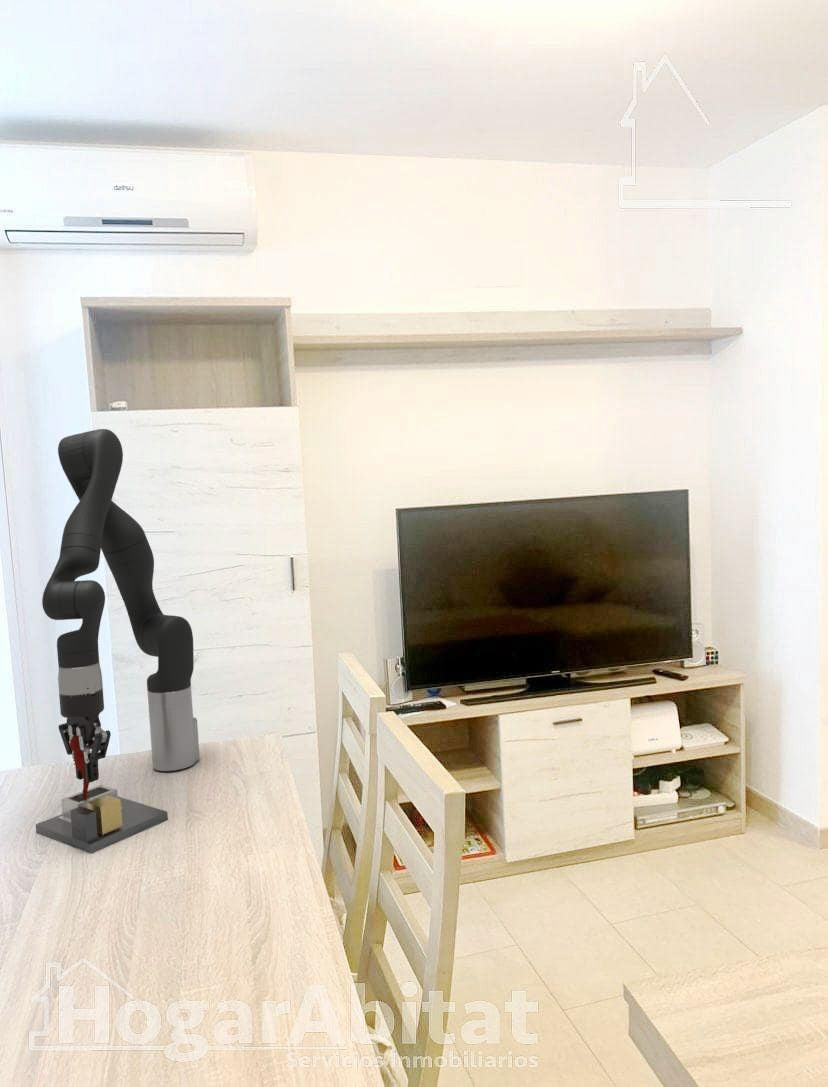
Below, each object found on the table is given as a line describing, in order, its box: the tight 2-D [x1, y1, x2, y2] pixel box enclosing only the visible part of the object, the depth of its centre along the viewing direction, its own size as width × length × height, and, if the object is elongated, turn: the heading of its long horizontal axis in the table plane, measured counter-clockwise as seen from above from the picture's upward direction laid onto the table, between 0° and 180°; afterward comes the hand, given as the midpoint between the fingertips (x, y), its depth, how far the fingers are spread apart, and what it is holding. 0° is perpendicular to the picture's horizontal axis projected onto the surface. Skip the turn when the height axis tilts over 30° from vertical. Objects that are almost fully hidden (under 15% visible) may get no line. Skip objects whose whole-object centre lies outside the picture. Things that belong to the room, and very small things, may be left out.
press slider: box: [87, 795, 123, 835], centre depth 144 cm, size 4×4×5 cm
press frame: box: [35, 784, 169, 854], centre depth 150 cm, size 16×17×6 cm
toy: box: [69, 733, 93, 801], centre depth 152 cm, size 2×5×15 cm, turn 119°
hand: (87, 779), depth 152 cm, fingers closed on toy, 2 cm apart
